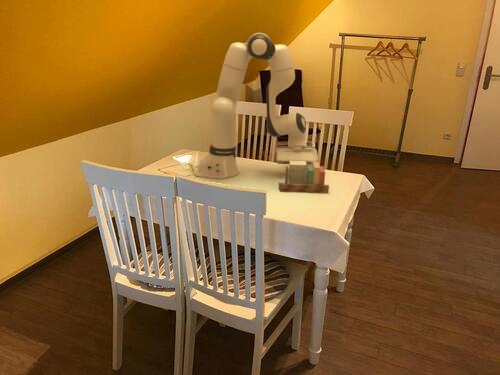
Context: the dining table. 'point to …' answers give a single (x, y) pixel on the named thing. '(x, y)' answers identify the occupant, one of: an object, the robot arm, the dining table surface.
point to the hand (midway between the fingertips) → (297, 171)
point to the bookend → (285, 176)
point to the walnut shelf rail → (304, 188)
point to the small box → (297, 172)
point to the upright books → (315, 174)
